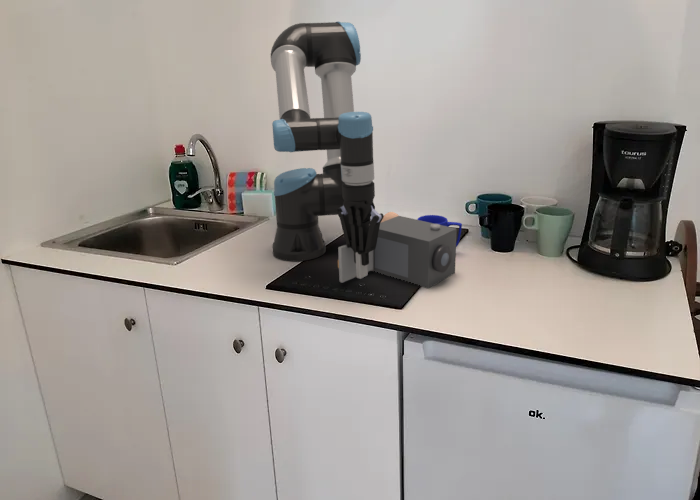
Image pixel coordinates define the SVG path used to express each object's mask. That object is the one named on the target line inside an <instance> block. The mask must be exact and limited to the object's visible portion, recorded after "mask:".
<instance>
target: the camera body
mask: <svg viewBox="0 0 700 500" xmlns="http://www.w3.org/2000/svg"><path fill="white" fill-rule="evenodd" d="M457 232H458V229H457V228H455V227H451V226H449V227H447V226H443V225H440V224H434V223H429V222H425V221H420V220H417V219H415V218H411V217H406V216H402V215H399V216H397V217H394V218H392V219H389V220H387V221H384V222H380V227H379V233H378V238H377V243H376V249H375V250H373V257H374V270H373V271H372V272H374V271H375V272H374V273H377V272H378V273H377V274H380V273H381V275H383V274H384V275H383V276H387V277H390V276H391V277H390V278H393V277H394V279H396V278H397V279H396V280H399V279H401V280H400V281H403V280H405V281H404V282H406V281H408V282H407V283H409V282H411V283H410V284H412V283H414V284H413V285H415V284H418V285H417V286H419V285H420V286H419V287H421V288H422V287H423V288H426V289H429V288H431V287H433V286H436V284H438V283H441V282H442V281H443V280H445V279H447V278H449V277H451V276H453V275H454V274H455V273H456V260H457V259H456V257H457V256H456V255H457V247H456V241H457V236H458V233H457Z"/></svg>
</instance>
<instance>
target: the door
mask: <svg viewBox="0 0 700 500" xmlns="http://www.w3.org/2000/svg"><path fill="white" fill-rule="evenodd" d="M337 247H338V248H337V249H338V252H337V254H338V259H337V268H338V274H339V275H338V277H339V280H338V281H339V282H340V283H345V282H348V281H350V280H352V279H354V278H357V272H356V263H355V262H354V251H353V250H352V248H348V247H347V245H346V244H343V245H341V246H337ZM367 270H368V272H374V271H373V270H374V257H373V251H370V252H369V264H368V265H367Z"/></svg>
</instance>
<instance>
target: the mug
mask: <svg viewBox="0 0 700 500" xmlns="http://www.w3.org/2000/svg"><path fill="white" fill-rule="evenodd" d="M416 220H420V221H425V222H429V223H434V224H440V225H443V226H447V227H451V226H458V233H457V237H456V248H457V247H458V245H459V243H460V240H461V236H462V235H461V234H462V229H463V228H462V227H463V223H461V222H458V221H457V222H456V221H449V220H448V218H447V217H445V216H442V215H437V214H426V215H421V216H420V217H418V218H417V219H416Z"/></svg>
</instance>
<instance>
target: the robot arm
mask: <svg viewBox="0 0 700 500" xmlns="http://www.w3.org/2000/svg"><path fill="white" fill-rule="evenodd" d="M361 55H362V53H361V44H360V38H359V34H358V31H357V28H356V27H355V25H354V24H353V23H351V22H345V21H344V22H341V21H334V22H333V21H332V22H329V21H328V22H306V23H305V22H299V23H295V24H293V25H291V26H289V27H287V28H285V29H284V30H283V31H282V32H281V33H280V34H279V35H278V36H277V38H276V39H275V41H274V42H273V45H272V47H271V51H270V66H271V67H272V69H273V71H274V72H275V80H276V81H275V82H276V93H277V103H278V116H279V119H276V120H274V121H273V122H272V123H271V124H272V138H273V148H274V150H275V151H277V152H279V153H284V152H285V153H296V152H299V153H300V152H309V151H310V152H311V151H312V152H313V151H326V157H327V158H326V159H327V160H326V163H325V164H324V165H323V166H322V173H317V170H316V169H315V168H312V167H303V168H302V167H301V168H300V167H299V168H295V169H290V170H287V171H284V172H282V173H280V174H278V175H277V176H276V177H275V179H274V181H273V189H274V190H273V195H274V202H275V217H276V218H275V220H276V231H275V234H274V241H273V242H272V243H273V244H272V245H271V246H272V249H271V250H272V255H273V257H274V258H276V259H279V260H281V261H287V262H302V261H303V262H304V261H309V260H313V259H317V258H319V257H321V256H323V255H324V254H326V251H327V250H326V249H327V247H326V246H327V245H326V241H325V239H324V236H323V234H322V230H321V229H320V228H321V227H320V226H319V217H321V216H323V217H325V216H334V215H335V216H336V215H337V216H338V217H339V220H340V224H341V228H342V229H341V230H342V232H343V237H344V241H345V245H347V247H348V248H352V250H353V251H354V262H355V263H356V272H357V277H356V278H357V279H360V280H361V279H363V278H364V277H367V276H368V275H369V274H368V273H369V271H368V270H367V265H368V264H369V252H370V251H373V250H375V249H376V243H377V238H378V233H379V227H380V223H381V221H382V219H383V217H384V215H385V214H383V213H381V212H380V213H379V212H378V211H377V210H376V206H375V204H374V199H375V196H376V192H375V187H376V186H375V182H374V180H375V165H374V163H375V162H374V146H373V145H374V143H373V142H374V139H373V137H374V136H373V131H374V126H373V117H372V115H371V114H370V113H369V112H366V111H355V107H354V94H353V92H354V91H353V83H352V81H353V79H352V76H353V75H354V73H356V71H357V70H356V69H357V66H358V65H360V63H361V59H362V57H361ZM306 67H307V68H312V67H313V68H314V73H315V75H316V76H317V77H319V78H320V80H321V81H320V82H321V92H322V93H321V95H322V106H323V107H322V110H323V117H312V118H311V113H310V105H309V104H310V103H309V97H308V90H307V82H306V76H305V68H306Z"/></svg>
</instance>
